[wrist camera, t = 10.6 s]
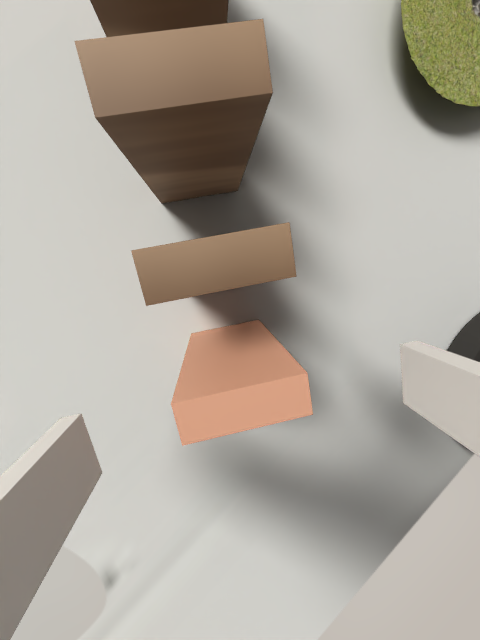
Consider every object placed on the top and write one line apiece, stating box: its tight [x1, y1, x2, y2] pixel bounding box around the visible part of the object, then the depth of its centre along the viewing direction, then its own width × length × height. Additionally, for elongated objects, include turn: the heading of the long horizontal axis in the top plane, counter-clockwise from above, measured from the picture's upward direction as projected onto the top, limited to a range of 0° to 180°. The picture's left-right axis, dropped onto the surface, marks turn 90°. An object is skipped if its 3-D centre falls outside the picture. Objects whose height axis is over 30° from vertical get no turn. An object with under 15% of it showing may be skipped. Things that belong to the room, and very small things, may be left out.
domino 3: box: [132, 222, 296, 306], centre depth 13 cm, size 2×5×10 cm, turn 100°
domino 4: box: [171, 320, 313, 446], centre depth 14 cm, size 2×5×10 cm, turn 100°
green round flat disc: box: [401, 0, 480, 106], centre depth 16 cm, size 11×11×2 cm
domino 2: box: [75, 19, 273, 203], centre depth 12 cm, size 2×5×10 cm, turn 101°
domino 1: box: [90, 0, 228, 37], centre depth 11 cm, size 2×5×10 cm, turn 101°
